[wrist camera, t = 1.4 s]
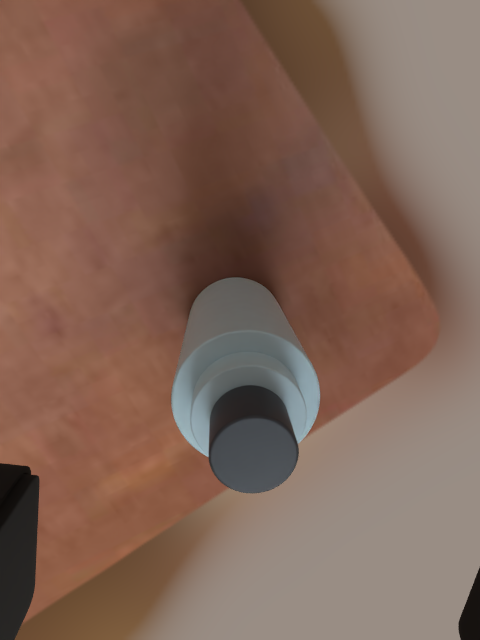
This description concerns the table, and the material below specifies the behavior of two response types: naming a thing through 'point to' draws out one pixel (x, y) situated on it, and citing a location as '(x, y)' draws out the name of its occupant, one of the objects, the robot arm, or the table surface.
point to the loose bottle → (244, 386)
